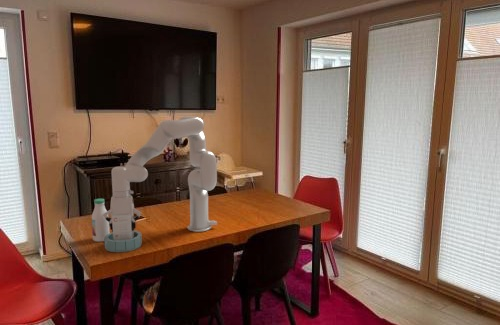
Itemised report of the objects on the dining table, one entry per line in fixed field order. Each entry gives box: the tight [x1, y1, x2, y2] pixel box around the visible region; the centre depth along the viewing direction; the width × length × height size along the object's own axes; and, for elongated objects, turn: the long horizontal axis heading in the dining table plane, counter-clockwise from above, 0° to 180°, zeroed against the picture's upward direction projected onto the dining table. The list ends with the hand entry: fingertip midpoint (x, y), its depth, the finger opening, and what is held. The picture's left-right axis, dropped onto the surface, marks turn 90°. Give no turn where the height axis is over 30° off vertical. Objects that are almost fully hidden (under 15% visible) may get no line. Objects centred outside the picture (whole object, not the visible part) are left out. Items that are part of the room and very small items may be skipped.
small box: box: [112, 214, 134, 241], centre depth 174 cm, size 8×6×13 cm
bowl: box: [103, 229, 143, 253], centre depth 175 cm, size 16×16×5 cm
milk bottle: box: [91, 198, 111, 243], centre depth 182 cm, size 8×8×20 cm
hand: (123, 230), depth 174 cm, fingers closed on small box, 8 cm apart
